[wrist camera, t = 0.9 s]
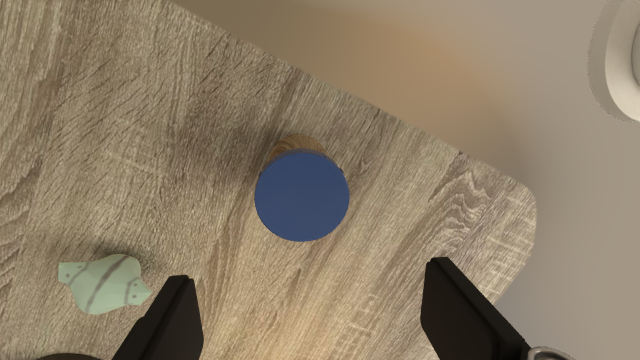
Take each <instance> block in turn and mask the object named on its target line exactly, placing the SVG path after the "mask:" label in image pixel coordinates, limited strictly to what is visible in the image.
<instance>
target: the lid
mask: <svg viewBox="0 0 640 360" xmlns="http://www.w3.org/2000/svg"><path fill="white" fill-rule="evenodd" d="M254 200H255V207H256V210H257V214H258V216H259V218H260V219H261V221H262V223H263V224H264V225H265V226H266V227H267V228H268V229H269V230H270V231H271V232H272V233H274V234H275V235H277V236H279V237H281V238H284V239H286V240H290V241H297V242H305V241H312V240H316V239H319V238H321V237H323V236H325V235H327V234H329V233H330V232H332V231H333V230H334V229H335V228H336V227H337V226H338V225H339V224H340V222H341V221H342V220H343V218H344V216H345V214H346V212H347V209H348V205H349V188H348V184H347V181H346V179H345V177H344V175H343V171H342V169H341V168H339V167H338V166H337V164H336V163H335V162H334V161H333V160H332V159H331V158H330V157H328V156H327V155H325V153H324V152H323V153H321V152H319V151H316V150H313V149H307V148H301V147H300V148H298V149H292V150H288V151H285V152H282V153H281V154H279V155H278V154H276V156H275V157H274V158H273V159H272V160H270V161H269V162H268V163H267V165H266V166H265V167H264V169H263V170H262V172H260V174H259V179H258V183H257V186H256V189H255V198H254Z"/></svg>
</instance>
